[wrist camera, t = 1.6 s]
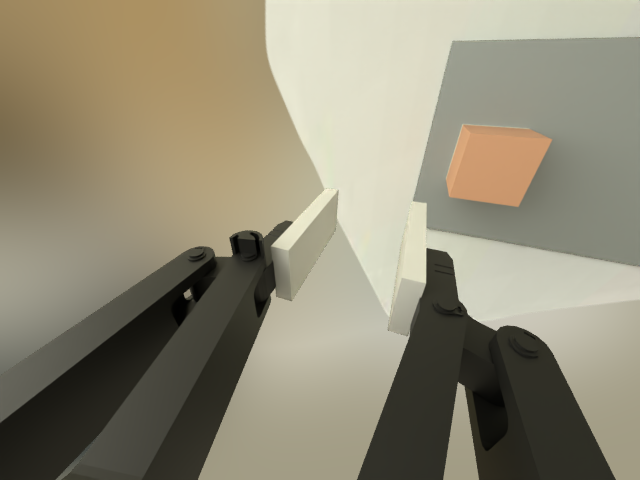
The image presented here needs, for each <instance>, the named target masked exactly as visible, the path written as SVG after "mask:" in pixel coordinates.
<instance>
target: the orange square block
mask: <svg viewBox="0 0 640 480" xmlns="http://www.w3.org/2000/svg"><path fill="white" fill-rule="evenodd" d="M552 140H553V139H550V138H548V137H546V136H544V135H542V134H539V133H537V132H535V131H533V130H531V129H528V128H514V127H499V126H483V125H468V124H462V128H461V131H460V134H459V137H458V141H457V144H456V147H455V150H454V154H453V157H452V160H451V163H450V166H449V170H448V173H447V176H446V183H447V188H448V193H449V197H452V198H459V199H466V200H473V201H480V202H487V203H494V204H501V205H508V206H515V207H518V206H519V204H520V203H521V201H522V199H523V197H524V195H525V193H526V191H527V189H528V187H529V185H530V183H531V181H532V179H533V177H534V175H535V173H536V171H537V169H538V167H539V165H540V163H541V161H542V159H543V157H544V155H545V153H546V151H547V149H548V147H549V146H550V144H551V142H552Z"/></svg>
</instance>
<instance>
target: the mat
mask: <svg viewBox="0 0 640 480" xmlns="http://www.w3.org/2000/svg"><path fill="white" fill-rule="evenodd" d="M462 124H468V125H483V126H499V127H514V128H528V129H531V130H533V131H535V132H537V133H539V134H542V135H544V136H546V137H548V138H550V139H553V140H552V142H551V144H550V146H549V147H548V149H547V151H546V153H545V155H544V157H543V159H542V161H541V163H540V165H539V167H538V169H537V171H536V173H535V175H534V177H533V179H532V181H531V183H530V185H529V187H528V189H527V191H526V193H525V195H524V197H523V199H522V201H521V203H520V204H519V206H518V207H515V206H508V205H501V204H494V203H487V202H480V201H473V200H466V199H459V198H452V197H449V193H448V188H447V183H446V176H447V173H448V170H449V166H450V163H451V160H452V157H453V154H454V150H455V147H456V144H457V141H458V137H459V134H460V131H461V128H462ZM413 201H414V202H421V203H427V212H426V228H429V229H435V230H441V231H446V232H452V233H457V234H463V235H468V236H474V237H479V238H485V239H491V240H496V241H502V242H507V243H513V244H518V245H524V246H529V247H535V248H541V249H546V250H552V251H557V252H563V253H568V254H574V255H579V256H585V257H591V258H596V259H602V260H607V261H613V262H618V263H624V264H629V265H635V266H640V37H625V38H576V39H528V40H480V41H452V45H451V49H450V53H449V57H448V61H447V66H446V70H445V74H444V78H443V82H442V86H441V90H440V94H439V98H438V102H437V106H436V110H435V114H434V118H433V122H432V126H431V130H430V134H429V139H428V143H427V147H426V151H425V155H424V159H423V163H422V167H421V171H420V175H419V179H418V183H417V187H416V191H415V195H414V199H413Z"/></svg>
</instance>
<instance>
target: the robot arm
mask: <svg viewBox="0 0 640 480" xmlns="http://www.w3.org/2000/svg"><path fill="white" fill-rule="evenodd" d="M337 205H338V190H336V189H329V188H326V189H325V190H324V191H323V192H322V193H321V194H320V195H319V196H318V197H317V198H316V200H314V201H313V203H312V204H311V205H310V206H309V207H308V208H307V209H306V210H305V211H304V212H303V213H302V214H301V215H300V216H299V217H298V218H297V219H296V220H295V221H294V222H291V221H284V222H283V223H280V224H278V225H277V226H276V227H275V228H274V229H273V231H271V232H270V233H269V234H268V235H266V236H265V237H264V238H263V237H262V234H260V233H259V232H257V231H242V232H238V233H235V234H233V235H232V236H231V237H230V242H231V247H232V252H233V255H232V257H215V254H214V251H213V249H211V248H210V247H195V248H191V249H189V250H187V251H185V252H184V253H182V254H181V255H179V256H178V257H176V258H175V259H173V260H172V261H170V262H169V263H167V264H166V265H164V266H163V267H161V268H160V269H158V270H157V271H155V272H154V273H152V274H151V275H149V276H148V277H146V278H145V279H143V280H142V281H140V282H139V283H137V284H136V285H135V286H133V287H131V288H130V289H128V290H127V291H125V292H124V293H123V294H121V295H119V296H118V297H116V298H115V299H113V300H112V301H110V302H109V303H108V304H106V305H105V306H103V307H101V308H100V309H98V310H97V311H95V312H94V313H93V314H91V315H89V316H88V317H86V318H85V319H84V320H82V321H81V322H79V323H78V324H76V325H75V326H73V327H72V328H70V329H69V330H67V331H66V332H64V333H63V334H61V335H60V336H58V337H57V338H55V339H54V340H52V341H51V342H49V343H48V344H46V345H45V346H43V347H42V348H40V349H39V350H37V351H36V352H34V353H33V354H31V355H30V356H28V357H27V358H25V359H24V360H22V361H21V362H19V363H18V364H16V365H15V366H13V367H12V368H10V369H9V370H8V371H6V372H4V373H3V374H1V375H0V480H55V479H56V478H57V477H58V476H59V475H60V474H61V473H62V472H63V471H64V470H65V469H66V468H67V467H68V466H69V465H70V464H71V463H72V462H73V461H74V460H75V459H76V458H77V457H78V456H79V455H80V454H81V452H82V451H83V450H84V449H85V448H86V447H87V446H88V445H89V444H90V443H91V442H92V441H93V440H94V439H95V438H96V437H97V436H98V435H99V434H100V435H99V436H98V437H97V439H96V440H95V441H94V443H93V444H92V445H91V447H90V448H89V450H88V451H87V452H86V454H85V455H84V456H83V458H82V459H81V460H80V462H79V463H78V464H77V465H76V466H75V468H74V469H73V470H72V471H71V472H70V473H69V474H68V475H67V476H65V477H64V478H63V479H62V480H198V478H199V475H200V473H201V470H202V468H203V465H204V463H205V460H206V458H207V456H208V453H209V451H210V448H211V446H212V444H213V441H214V439H215V436H216V434H217V432H218V429H219V427H220V424H221V422H222V419H223V417H224V415H225V412H226V410H227V407H228V405H229V402H230V400H231V397H232V395H233V392H234V390H235V388H236V385H237V383H238V380H239V378H240V376H241V373H242V371H243V368H244V366H245V363H246V361H247V359H248V356H249V354H250V351H251V349H252V347H253V344H254V342H255V339H256V337H257V335H258V332H259V330H260V327H261V325H262V322H263V320H264V318H265V315H266V313H267V310H268V308H269V305H270V302H271V296H270V294H271V293H272V291H273V290H274V289H276V297H279V298H283V299H286V300H289V301H292V300H293V298H294V297H295V295H296V293H297V292H298V290H299V289H300V287H301V285H302V284H303V282H304V281H305V279H306V277H307V276H308V274H309V273H310V271H311V269H312V268H313V266H314V264H315V263H316V261H317V260H318V258H319V256H320V255H321V253H322V251H323V250H324V248H325V247H326V245H327V243H328V242H329V240H330V239H331V237H332V235H333V234H334V232H335V230H336V221H337ZM426 212H427V203H421V202H414V201H412V202H411V206H410V210H409V214H408V218H407V223H406V227H405V231H404V235H403V239H402V243H401V249H400V256H399V262H398V268H397V274H396V281H395V287H394V293H393V299H392V306H391V312H390V318H389V324H388V331H392V332H395V333H398V334H401V335H405V336H408V334H409V331H410V337H409V340H408V343H407V345H406V348H405V351H404V354H403V356H402V359H401V362H400V365H399V368H398V370H397V373H396V375H395V378H394V381H393V383H392V387H391V389H390V392H389V394H388V397H387V400H386V403H385V405H384V408H383V411H382V414H381V416H380V419H379V422H378V424H377V427H376V430H375V432H374V435H373V438H372V441H371V443H370V446H369V449H368V451H367V454H366V457H365V460H364V462H363V465H362V468H361V471H360V473H359V476H358V479H357V480H443V476H444V469H445V463H446V457H447V450H448V443H449V437H450V430H451V423H452V416H453V410H454V404H455V397H456V390H457V384H458V382H459V383H461V384H462V385H464V386H465V391H466V398H467V404H468V411H469V417H470V424H471V430H472V436H473V443H474V449H475V456H476V462H477V469H478V475H479V480H616V479H615V477H614V475H613V474H612V471H611V469H610V467H609V466H608V463H607V461H606V459H605V457H604V456H603V453H602V451H601V449H600V447H599V445H598V443H597V442H596V439H595V437H594V436H593V433H592V431H591V429H590V427H589V425H588V423H587V421H586V419H585V417H584V416H583V413H582V411H581V409H580V407H579V405H578V403H577V401H576V400H575V397H574V395H573V393H572V391H571V389H570V387H569V385H568V384H567V381H566V379H565V377H564V375H563V373H562V371H561V369H560V368H559V365H558V363H557V361H556V359H555V358H554V355H553V353H552V352H551V350H550V349H549V347H548V346H547V345H546V344H545V343H544V342H543V341H542V340H541V339H540V338H538V337H537V336H536V335H534V334H532V333H530V332H529V331H527V330H525V329H522V328H519V327H516V326H503V327H500V328H499V329H498V330H497V331H495V330H493V329H491V328H489V327H487V326H485V325H483V324H481V323H479V322H477V321H476V320H474V319H473V318H471V317H470V316H469V315H467V310H466V308H465V307H464V305H463V304H462V303H461V302H460V301H459V300H458V293H457V286H456V279H455V272H454V265H453V260H452V258H451V257H450V256H449V255H448V253H447V252H443V251H438V250H433V249H428V248H426ZM188 289H190V292H191V294H192V295H191V296H190V297H188V298H185V297H184V294H183V293H184V292H186V291H187V290H188Z"/></svg>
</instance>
